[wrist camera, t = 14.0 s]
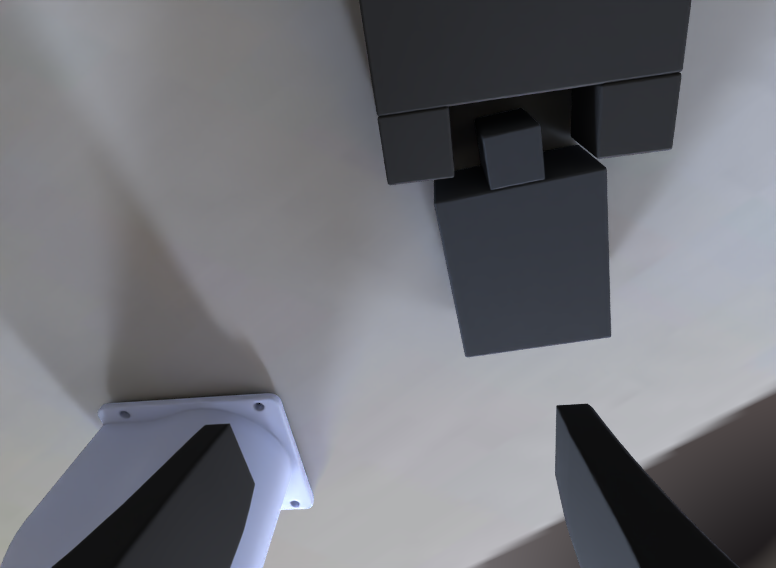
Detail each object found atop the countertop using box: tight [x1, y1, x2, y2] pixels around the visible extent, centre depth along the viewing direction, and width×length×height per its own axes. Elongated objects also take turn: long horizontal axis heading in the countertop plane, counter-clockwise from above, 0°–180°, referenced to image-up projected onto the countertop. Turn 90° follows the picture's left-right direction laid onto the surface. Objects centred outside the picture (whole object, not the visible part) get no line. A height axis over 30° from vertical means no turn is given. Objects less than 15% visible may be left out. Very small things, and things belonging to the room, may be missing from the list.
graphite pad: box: [434, 108, 611, 357], centre depth 16 cm, size 5×8×3 cm, turn 14°
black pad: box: [359, 0, 691, 185], centre depth 13 cm, size 8×8×3 cm
